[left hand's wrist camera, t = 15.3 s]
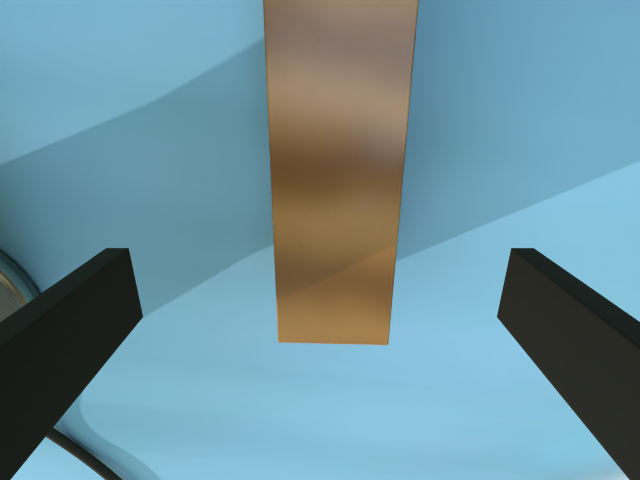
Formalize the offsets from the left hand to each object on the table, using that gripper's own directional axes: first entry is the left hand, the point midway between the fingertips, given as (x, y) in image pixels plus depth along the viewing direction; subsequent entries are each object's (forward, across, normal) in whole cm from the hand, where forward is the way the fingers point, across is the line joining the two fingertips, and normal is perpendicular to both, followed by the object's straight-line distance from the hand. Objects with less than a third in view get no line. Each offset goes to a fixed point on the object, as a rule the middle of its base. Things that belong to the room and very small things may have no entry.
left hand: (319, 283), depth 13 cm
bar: (+12, -1, -25) cm, 28 cm away
